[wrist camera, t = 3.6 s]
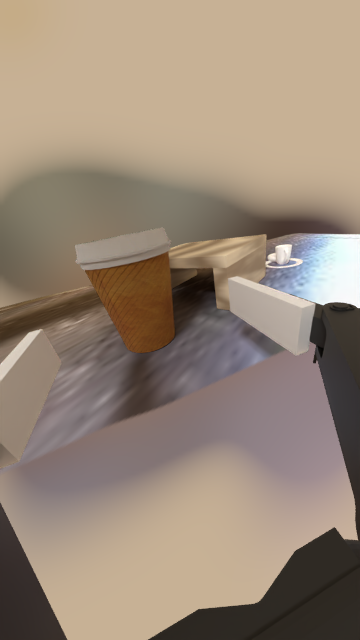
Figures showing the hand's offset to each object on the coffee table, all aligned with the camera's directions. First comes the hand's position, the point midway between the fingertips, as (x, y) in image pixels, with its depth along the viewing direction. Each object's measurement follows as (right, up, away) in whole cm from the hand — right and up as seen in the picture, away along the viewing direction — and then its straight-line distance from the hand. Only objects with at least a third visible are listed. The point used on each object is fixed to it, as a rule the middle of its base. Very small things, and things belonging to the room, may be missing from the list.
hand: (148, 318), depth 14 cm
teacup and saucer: (+28, +13, +31) cm, 44 cm away
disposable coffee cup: (-1, -2, +11) cm, 11 cm away
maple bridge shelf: (+7, +6, +24) cm, 26 cm away
